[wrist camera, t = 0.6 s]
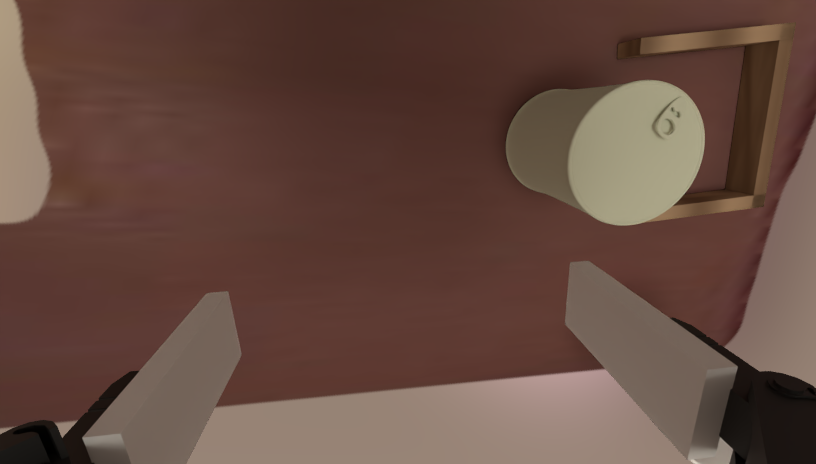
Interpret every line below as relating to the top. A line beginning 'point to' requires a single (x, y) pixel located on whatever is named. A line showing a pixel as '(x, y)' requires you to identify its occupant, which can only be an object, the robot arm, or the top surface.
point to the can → (609, 148)
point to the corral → (753, 111)
